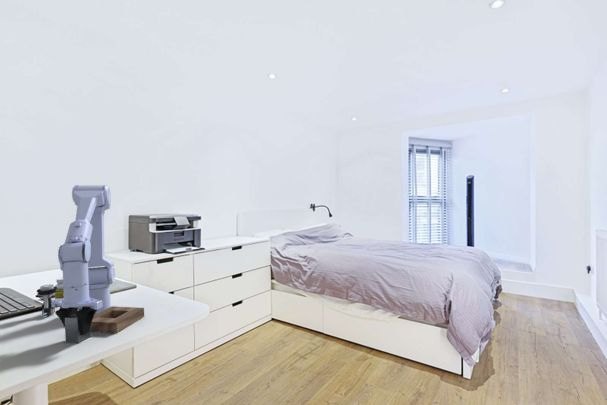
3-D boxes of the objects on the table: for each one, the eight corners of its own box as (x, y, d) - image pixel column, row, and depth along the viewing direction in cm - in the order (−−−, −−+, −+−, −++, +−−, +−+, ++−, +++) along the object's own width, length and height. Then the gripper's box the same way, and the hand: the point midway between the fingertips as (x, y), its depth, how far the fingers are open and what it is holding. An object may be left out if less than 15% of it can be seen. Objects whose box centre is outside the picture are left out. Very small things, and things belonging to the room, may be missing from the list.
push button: (53, 317, 103) (52, 288, 102) (33, 320, 101) (32, 290, 100) (60, 310, 109) (59, 282, 108) (41, 313, 107) (40, 284, 106)
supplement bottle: (76, 300, 120) (75, 275, 119) (68, 305, 114) (67, 279, 114) (60, 301, 118) (59, 276, 118) (52, 306, 113) (51, 280, 113)
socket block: (81, 330, 92) (80, 321, 92) (112, 315, 104) (111, 306, 104) (117, 333, 91) (116, 323, 90) (144, 316, 102) (143, 307, 102)
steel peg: (65, 342, 85) (64, 317, 85) (78, 335, 89) (77, 312, 89) (78, 343, 85) (77, 318, 84) (90, 336, 88) (89, 312, 88)
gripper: (39, 288, 84) (41, 338, 84) (86, 290, 81) (88, 341, 82) (63, 281, 90) (65, 326, 91) (107, 282, 88) (109, 329, 89)
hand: (78, 332), depth 87 cm, fingers closed on steel peg, 4 cm apart
